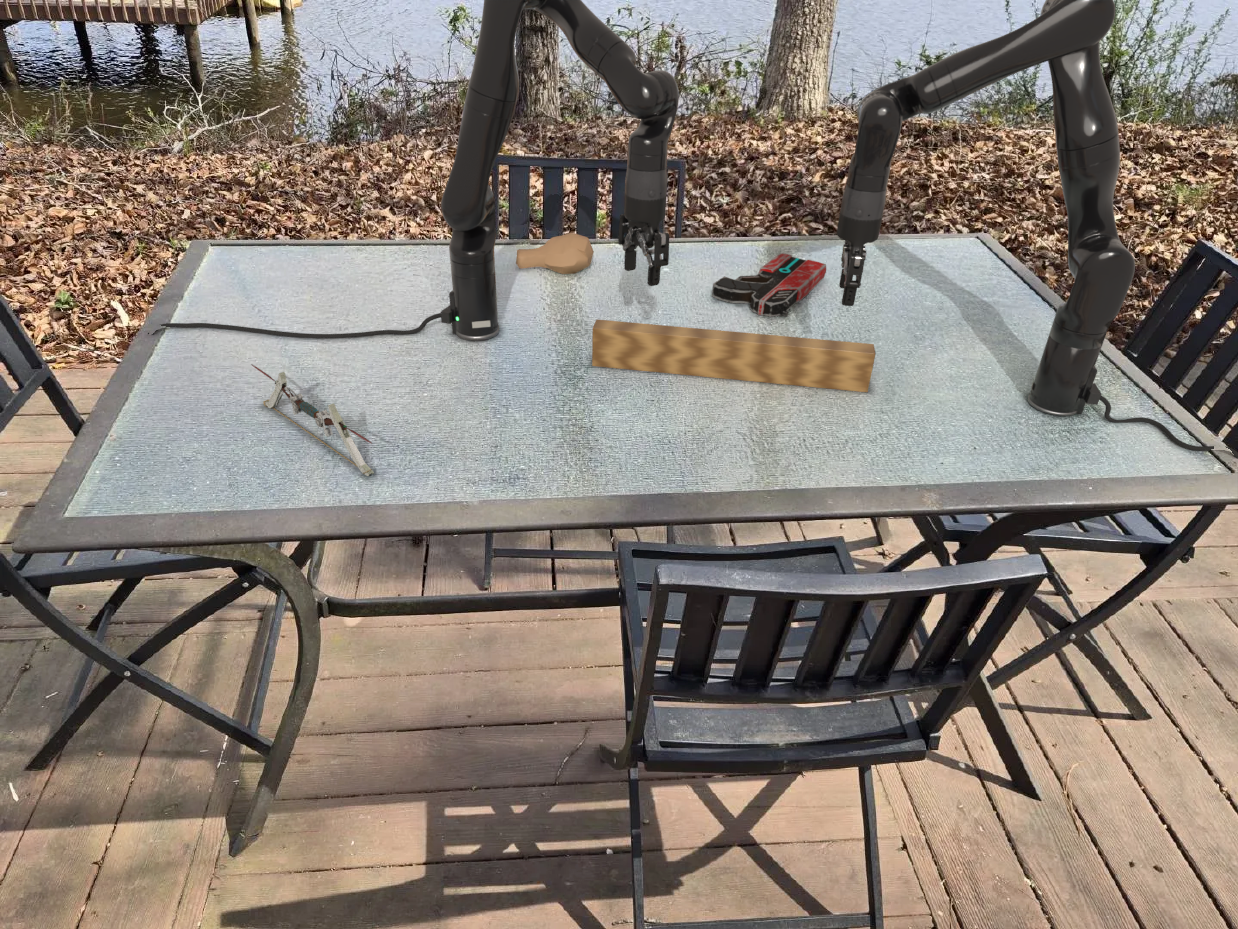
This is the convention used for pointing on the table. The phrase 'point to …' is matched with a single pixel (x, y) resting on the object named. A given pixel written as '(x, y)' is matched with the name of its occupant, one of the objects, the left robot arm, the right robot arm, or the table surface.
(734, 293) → the gun
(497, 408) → the table surface
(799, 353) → the post
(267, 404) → the bow
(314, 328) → the table surface
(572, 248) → the squash
